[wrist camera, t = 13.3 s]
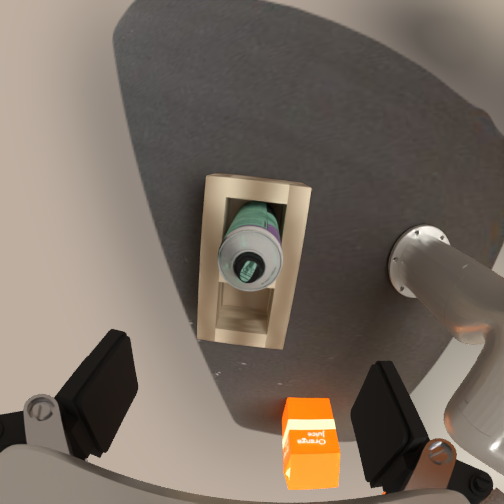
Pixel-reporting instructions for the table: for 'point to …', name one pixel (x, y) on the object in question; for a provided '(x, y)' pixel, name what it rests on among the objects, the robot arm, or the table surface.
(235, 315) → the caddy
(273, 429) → the table surface
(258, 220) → the spray can
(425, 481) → the robot arm
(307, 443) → the orange juice
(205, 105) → the table surface
